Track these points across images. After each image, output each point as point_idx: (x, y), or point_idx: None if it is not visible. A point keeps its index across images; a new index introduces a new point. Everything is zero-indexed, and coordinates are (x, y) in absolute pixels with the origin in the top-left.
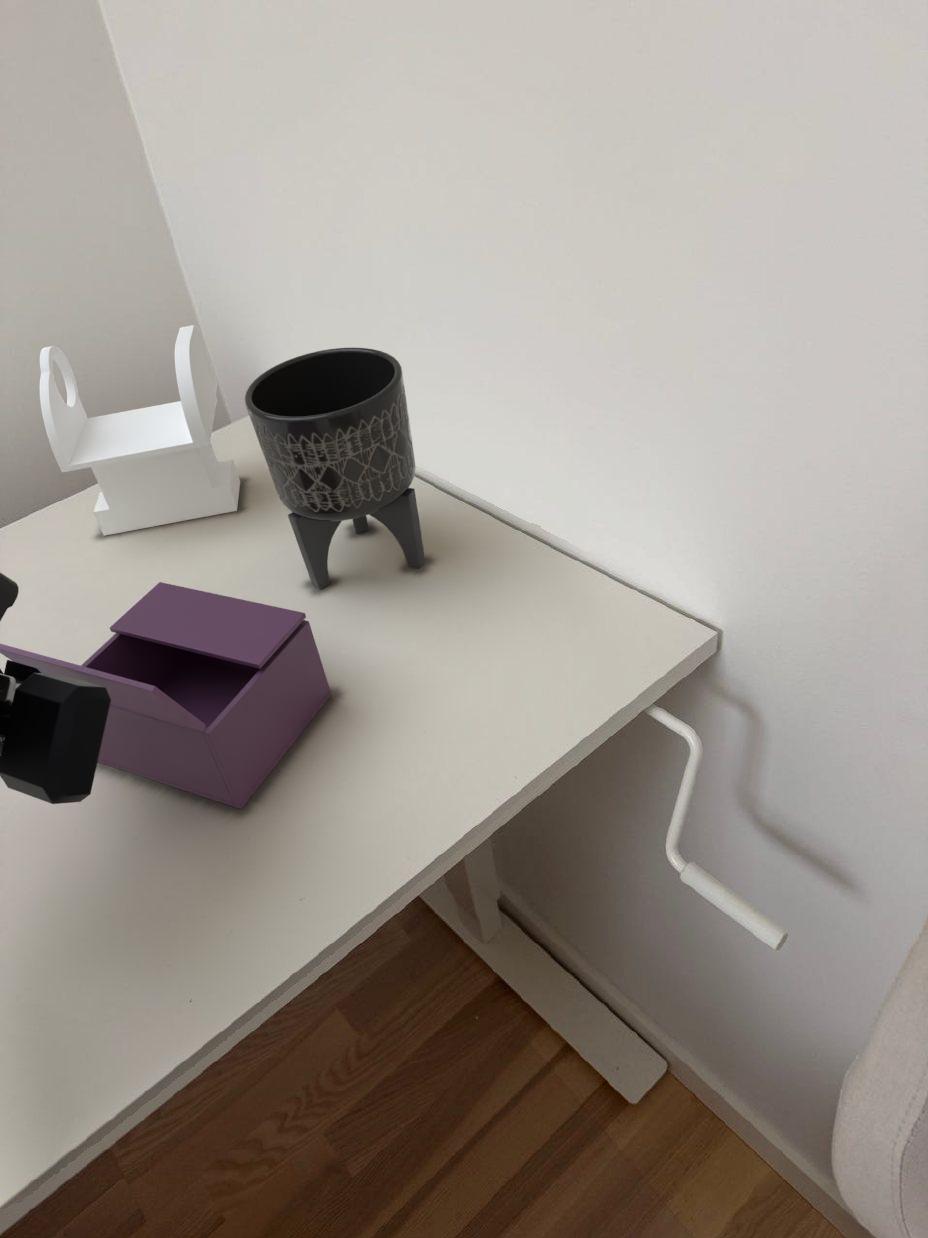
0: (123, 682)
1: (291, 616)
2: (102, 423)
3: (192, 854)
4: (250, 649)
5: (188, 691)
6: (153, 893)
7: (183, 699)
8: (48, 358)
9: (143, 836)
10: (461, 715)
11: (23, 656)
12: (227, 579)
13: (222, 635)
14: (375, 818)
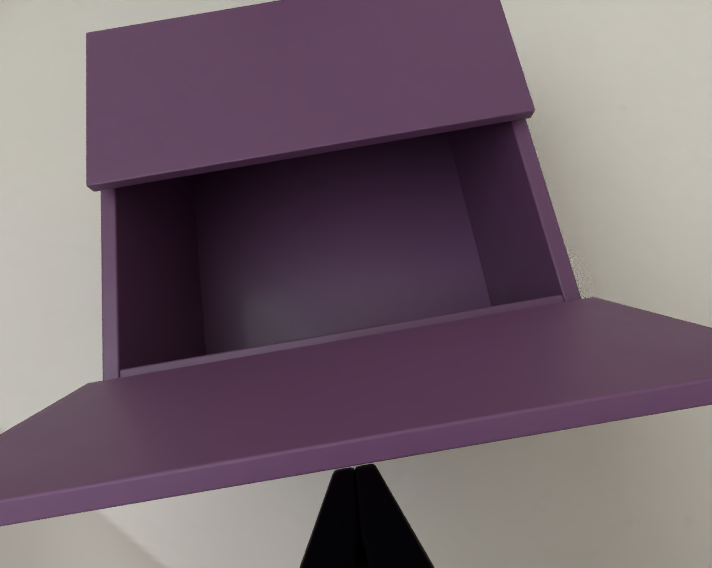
0: (668, 408)
1: None
2: None
3: (510, 445)
4: (476, 86)
5: (240, 212)
6: (520, 536)
7: (246, 228)
8: None
9: (409, 462)
10: (643, 63)
11: (58, 512)
12: (104, 17)
13: (377, 84)
14: (691, 254)
